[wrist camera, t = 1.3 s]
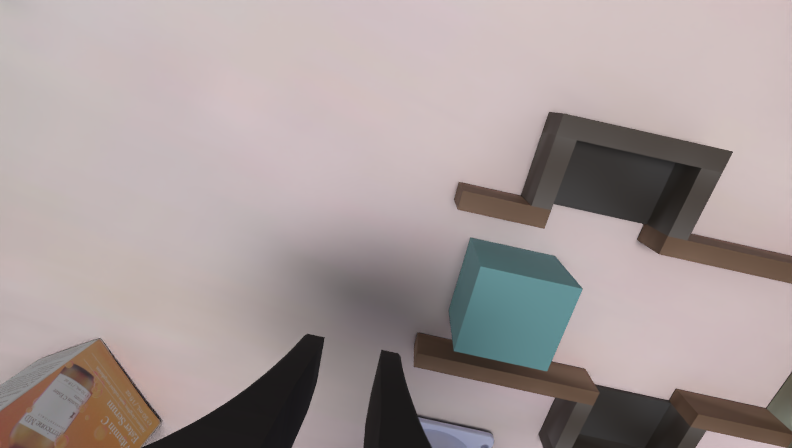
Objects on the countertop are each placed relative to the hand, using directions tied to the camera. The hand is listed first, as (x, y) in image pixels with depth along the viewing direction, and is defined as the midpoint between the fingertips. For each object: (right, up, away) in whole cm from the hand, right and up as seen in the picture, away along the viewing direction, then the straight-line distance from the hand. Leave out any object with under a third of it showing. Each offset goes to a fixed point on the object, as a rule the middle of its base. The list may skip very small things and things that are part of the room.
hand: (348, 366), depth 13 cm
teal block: (+8, +1, +9) cm, 12 cm away
